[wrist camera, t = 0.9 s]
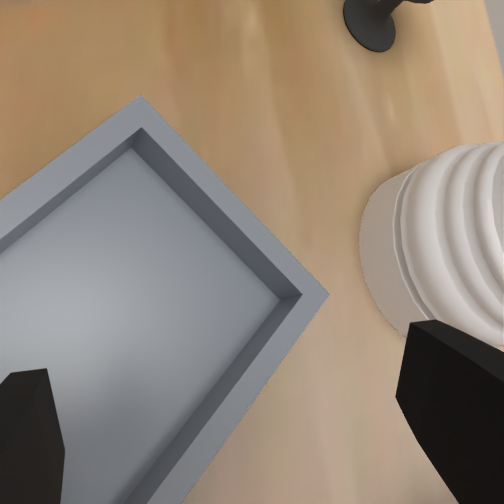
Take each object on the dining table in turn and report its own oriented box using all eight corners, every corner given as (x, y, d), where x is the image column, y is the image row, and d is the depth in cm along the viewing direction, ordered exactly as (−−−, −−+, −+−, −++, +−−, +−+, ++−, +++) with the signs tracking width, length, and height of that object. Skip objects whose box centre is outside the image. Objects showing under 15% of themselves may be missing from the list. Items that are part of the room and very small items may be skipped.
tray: (69, 610, 19) (77, 649, 17) (-217, 390, 17) (-261, 395, 14) (300, 300, 28) (329, 293, 25) (128, 122, 25) (140, 94, 23)
